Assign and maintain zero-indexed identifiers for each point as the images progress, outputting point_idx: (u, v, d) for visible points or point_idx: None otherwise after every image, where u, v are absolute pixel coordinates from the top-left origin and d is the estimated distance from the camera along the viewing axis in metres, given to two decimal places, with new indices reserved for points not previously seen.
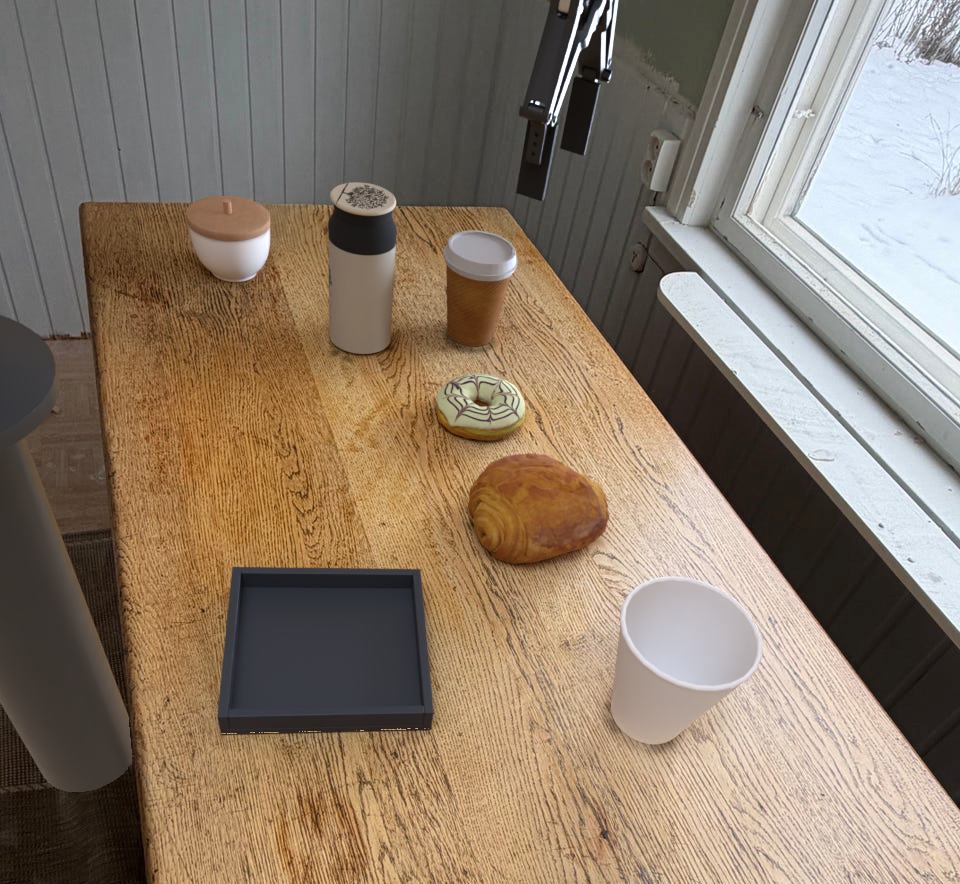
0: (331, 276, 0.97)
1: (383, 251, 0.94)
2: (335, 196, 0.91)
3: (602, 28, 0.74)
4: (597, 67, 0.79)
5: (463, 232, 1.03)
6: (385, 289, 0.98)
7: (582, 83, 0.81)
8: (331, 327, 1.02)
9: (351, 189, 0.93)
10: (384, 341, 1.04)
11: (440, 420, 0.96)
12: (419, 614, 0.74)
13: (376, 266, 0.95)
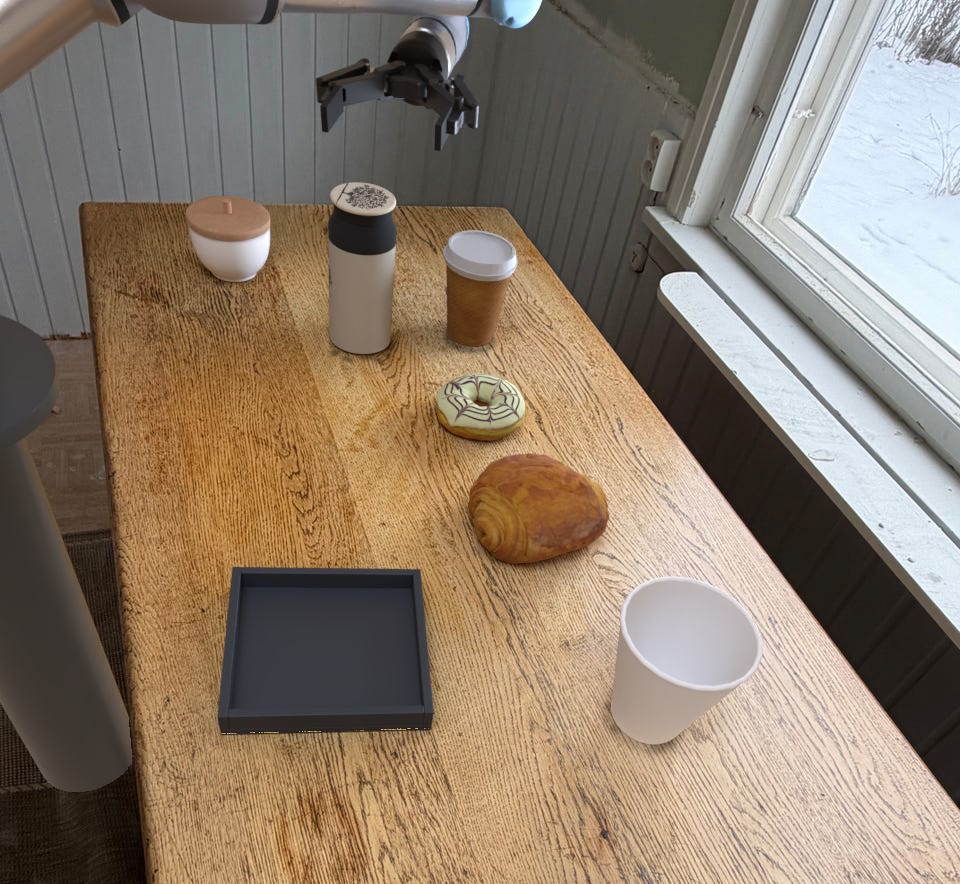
0: (331, 276, 0.97)
1: (383, 251, 0.94)
2: (335, 196, 0.91)
3: (382, 98, 1.02)
4: (348, 102, 0.99)
5: (463, 232, 1.03)
6: (385, 289, 0.98)
7: (342, 96, 0.97)
8: (331, 327, 1.02)
9: (351, 189, 0.93)
10: (384, 341, 1.04)
11: (440, 420, 0.96)
12: (419, 614, 0.74)
13: (376, 266, 0.95)
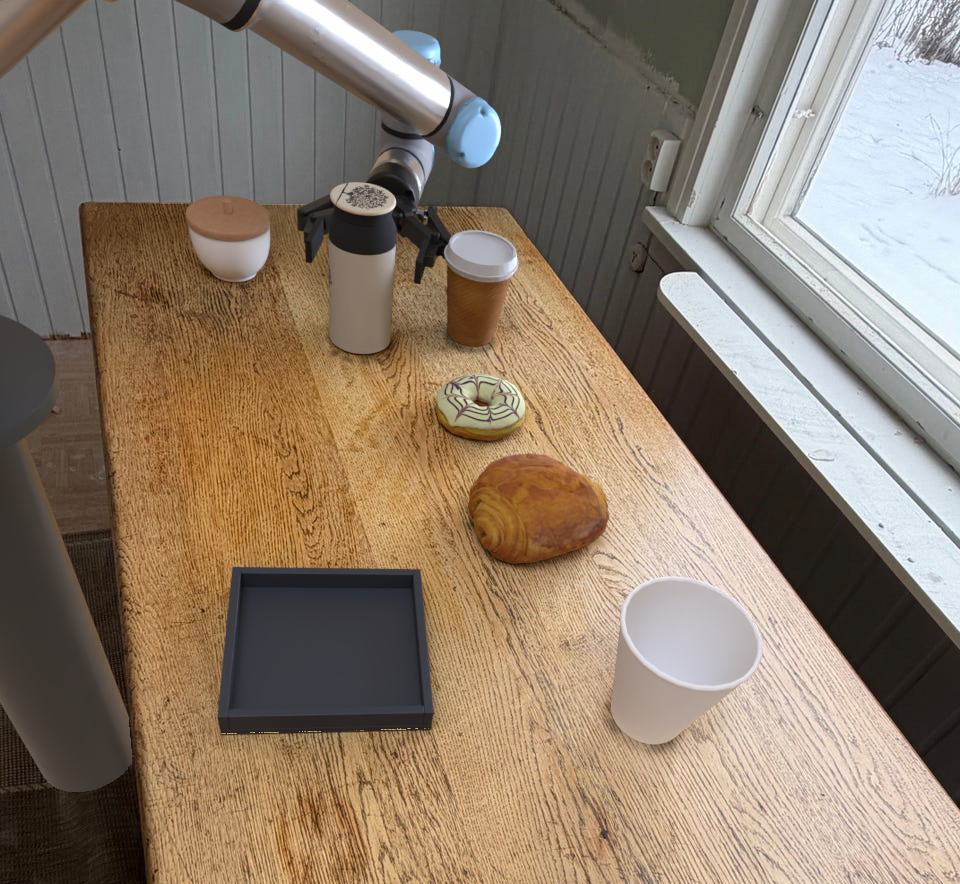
0: (331, 276, 0.97)
1: (383, 250, 0.94)
2: (335, 196, 0.91)
3: None
4: (327, 231, 1.04)
5: (464, 232, 1.02)
6: (385, 289, 0.98)
7: (323, 227, 1.02)
8: (331, 327, 1.02)
9: (351, 189, 0.93)
10: (384, 341, 1.04)
11: (440, 420, 0.96)
12: (419, 614, 0.74)
13: (376, 266, 0.95)
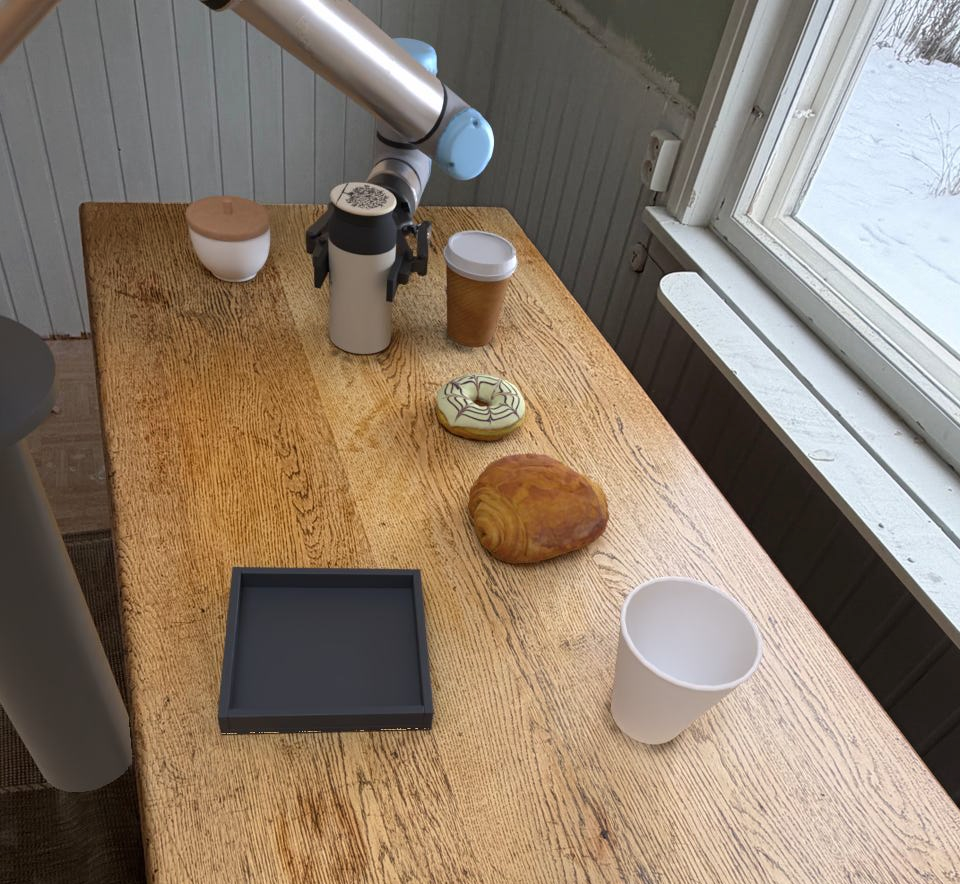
0: (331, 276, 0.97)
1: (383, 250, 0.94)
2: (335, 196, 0.91)
3: None
4: None
5: (463, 232, 1.03)
6: (385, 289, 0.98)
7: None
8: (331, 327, 1.02)
9: (351, 189, 0.93)
10: (384, 341, 1.04)
11: (440, 420, 0.96)
12: (419, 614, 0.74)
13: (376, 266, 0.95)
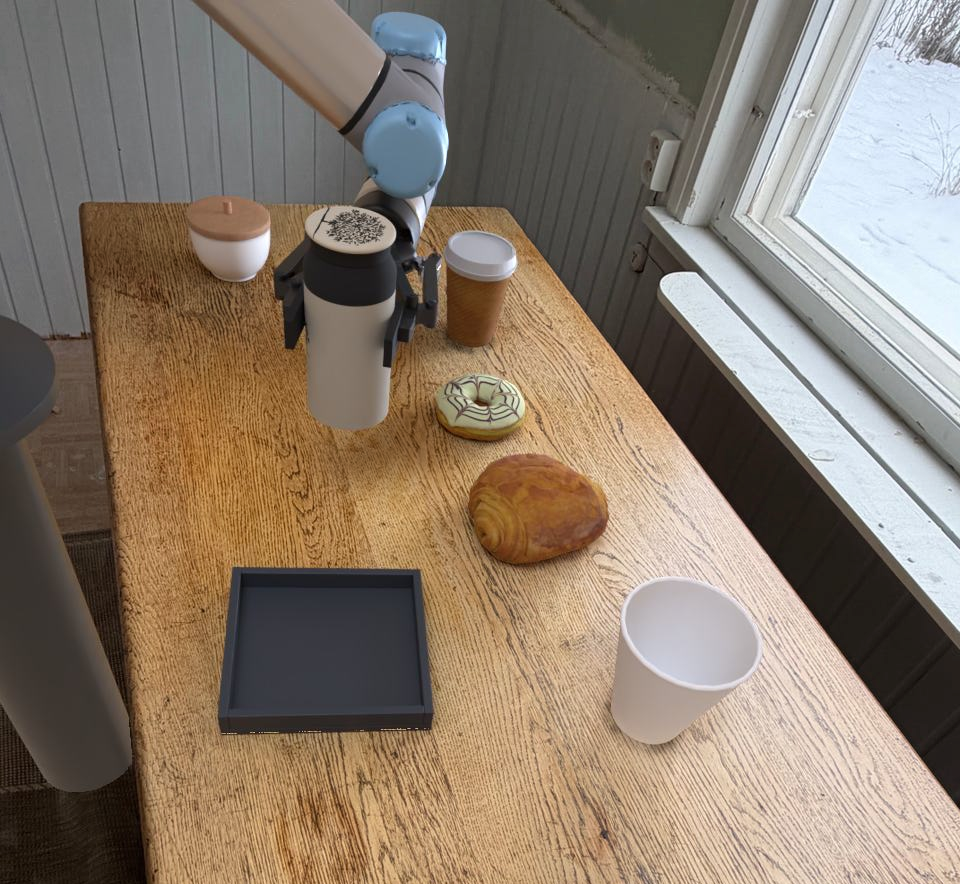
0: (309, 332, 0.72)
1: (378, 300, 0.69)
2: (312, 226, 0.66)
3: None
4: None
5: (463, 232, 1.03)
6: (381, 348, 0.73)
7: None
8: (310, 396, 0.77)
9: (334, 216, 0.67)
10: (380, 413, 0.78)
11: (440, 420, 0.96)
12: (419, 614, 0.74)
13: (369, 320, 0.69)
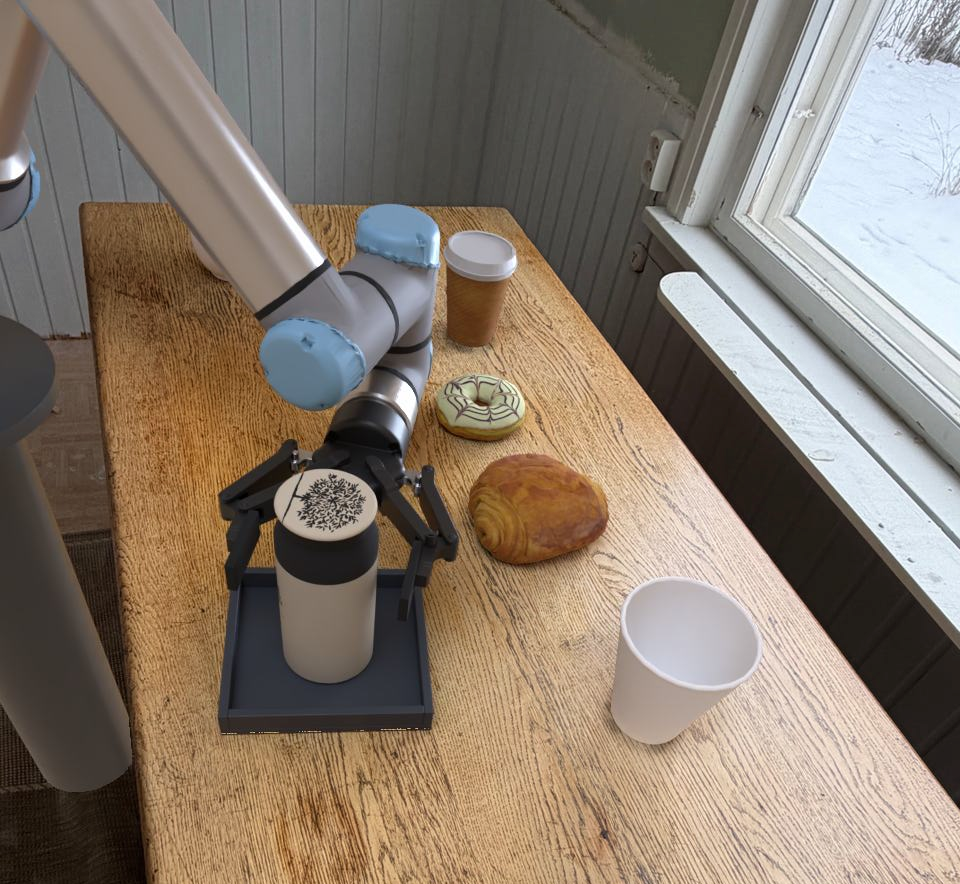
0: (281, 597, 0.64)
1: (357, 575, 0.61)
2: (281, 506, 0.58)
3: None
4: (267, 519, 0.68)
5: (463, 232, 1.03)
6: (362, 612, 0.65)
7: (258, 522, 0.66)
8: (285, 647, 0.70)
9: (308, 487, 0.60)
10: (363, 662, 0.71)
11: (440, 420, 0.96)
12: (419, 614, 0.74)
13: (347, 594, 0.62)
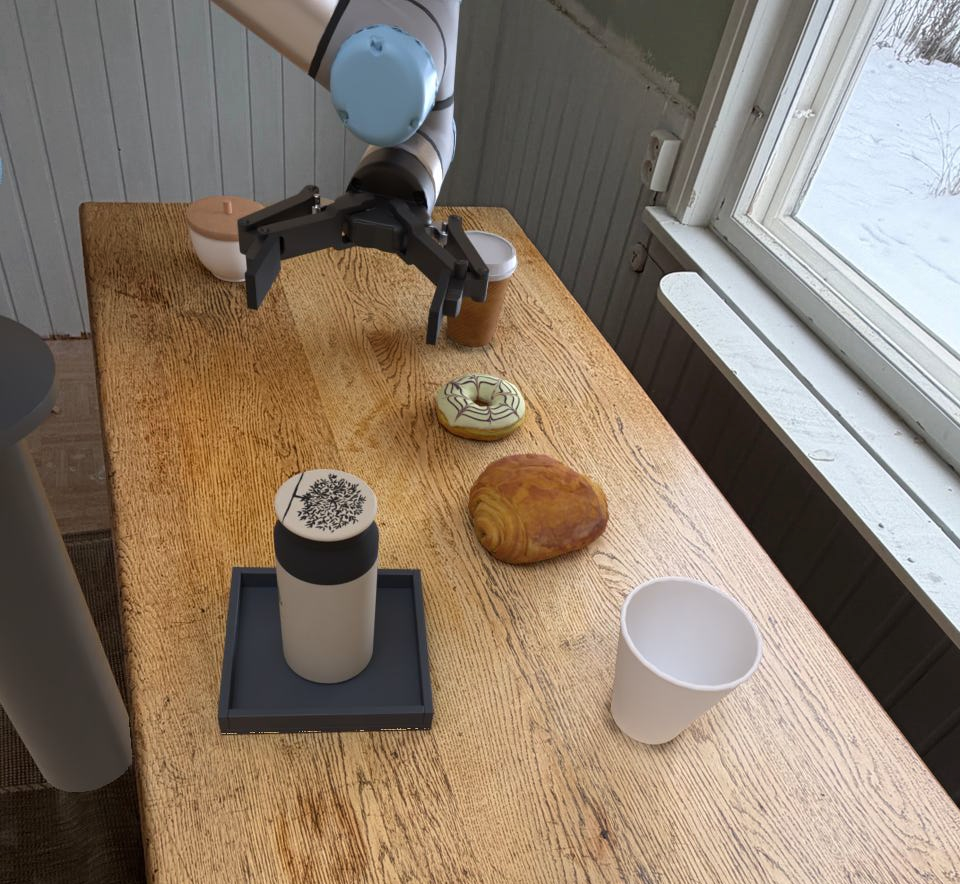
0: (281, 597, 0.64)
1: (358, 575, 0.61)
2: (281, 506, 0.58)
3: (339, 246, 0.68)
4: (288, 255, 0.65)
5: None
6: (362, 612, 0.65)
7: (279, 249, 0.63)
8: (285, 647, 0.70)
9: (308, 487, 0.60)
10: (363, 662, 0.71)
11: (440, 420, 0.96)
12: (419, 614, 0.74)
13: (347, 594, 0.62)
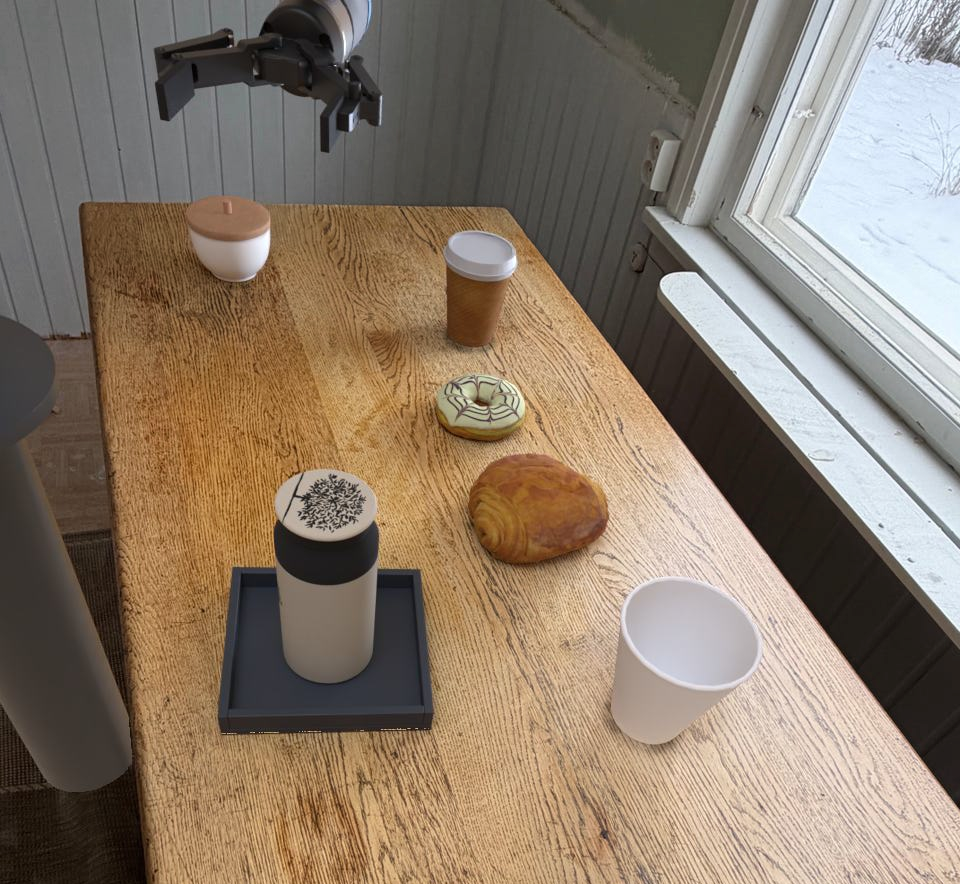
0: (281, 597, 0.64)
1: (358, 575, 0.61)
2: (282, 506, 0.58)
3: (251, 82, 0.75)
4: (202, 83, 0.72)
5: (463, 232, 1.03)
6: (362, 612, 0.65)
7: (191, 73, 0.70)
8: (285, 647, 0.70)
9: (308, 487, 0.60)
10: (363, 662, 0.71)
11: (440, 420, 0.96)
12: (419, 614, 0.74)
13: (348, 594, 0.62)
